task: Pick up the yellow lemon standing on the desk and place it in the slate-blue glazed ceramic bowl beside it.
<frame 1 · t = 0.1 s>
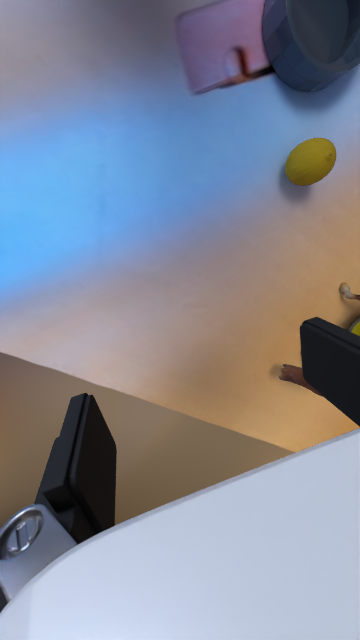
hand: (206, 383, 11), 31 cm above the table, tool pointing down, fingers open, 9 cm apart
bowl: (309, 26, 34), on the table
horse figurine: (318, 304, 49), on the table
lemon: (290, 169, 39), on the table
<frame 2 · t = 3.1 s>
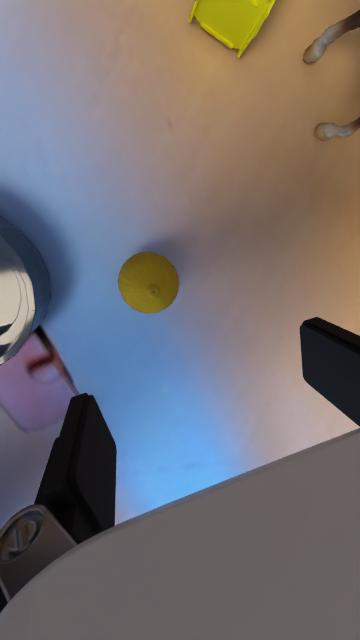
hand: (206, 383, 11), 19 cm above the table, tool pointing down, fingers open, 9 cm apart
horse figurine: (337, 182, 29), on the table
lemon: (144, 275, 28), on the table
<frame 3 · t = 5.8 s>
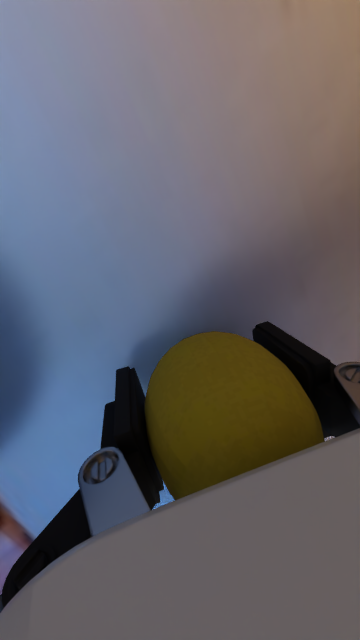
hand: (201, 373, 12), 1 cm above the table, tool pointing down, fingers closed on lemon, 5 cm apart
lemon: (192, 358, 13), on the table, touching gripper
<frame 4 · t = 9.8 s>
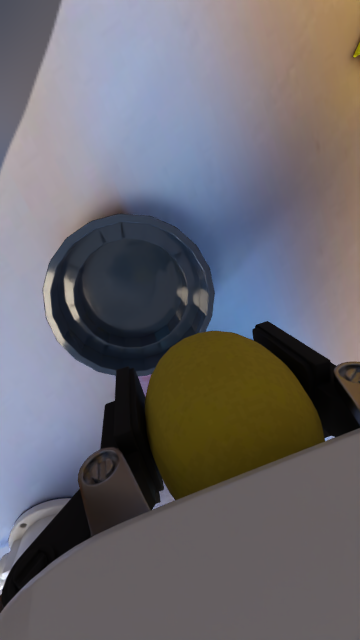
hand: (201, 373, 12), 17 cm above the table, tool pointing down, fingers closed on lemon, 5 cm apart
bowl: (132, 289, 27), on the table
lemon: (192, 357, 13), point 15 cm above the table, touching gripper
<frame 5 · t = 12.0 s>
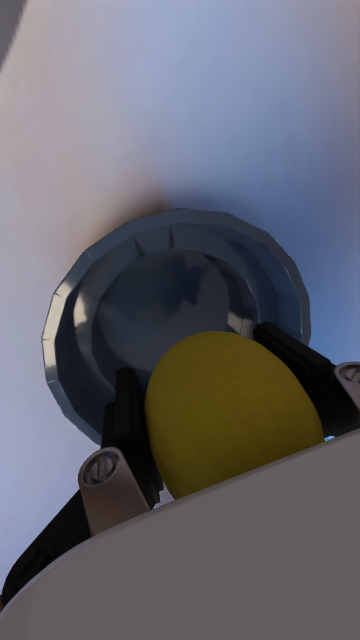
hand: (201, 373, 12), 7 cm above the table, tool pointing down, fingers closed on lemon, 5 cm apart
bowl: (171, 321, 18), on the table
lemon: (192, 357, 13), point 6 cm above the table, touching gripper
when the fingers open (2 cm above the table, at t = 14.3 s): lemon stays where it is, resting on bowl.
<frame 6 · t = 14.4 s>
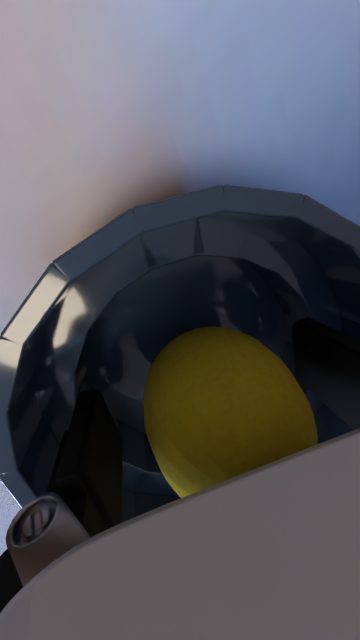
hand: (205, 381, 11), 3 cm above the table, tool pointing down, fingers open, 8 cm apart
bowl: (189, 350, 14), on the table
lemon: (190, 353, 13), resting on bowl
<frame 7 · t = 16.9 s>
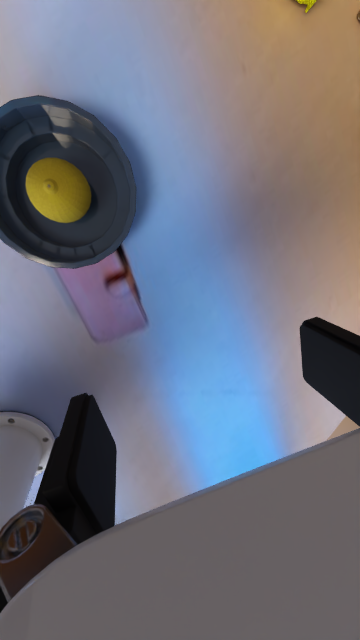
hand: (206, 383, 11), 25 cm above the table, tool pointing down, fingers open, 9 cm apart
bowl: (70, 197, 29), on the table
lemon: (69, 197, 28), resting on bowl
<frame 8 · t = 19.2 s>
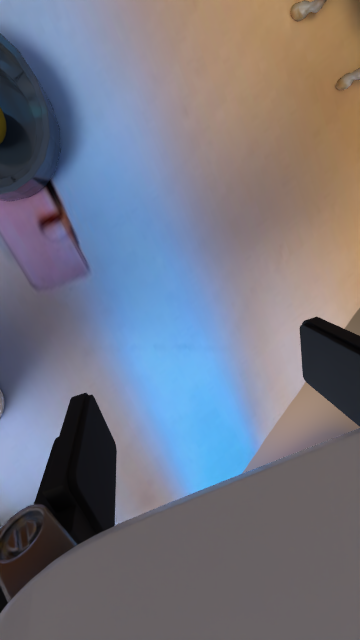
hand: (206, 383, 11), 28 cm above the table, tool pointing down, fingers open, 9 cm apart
horse figurine: (312, 65, 33), on the table
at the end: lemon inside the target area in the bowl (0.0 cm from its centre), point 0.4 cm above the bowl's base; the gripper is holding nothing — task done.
